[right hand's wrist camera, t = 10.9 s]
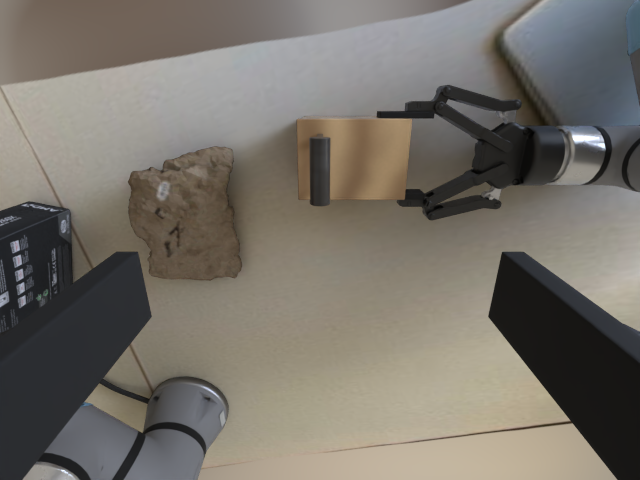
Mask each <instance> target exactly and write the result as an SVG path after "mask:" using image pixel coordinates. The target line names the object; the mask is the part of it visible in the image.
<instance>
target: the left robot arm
mask: <svg viewBox="0 0 640 480" xmlns="http://www.w3.org/2000/svg"><path fill="white" fill-rule="evenodd" d="M626 28H627V40H628V55H629V56H630V59H631V64H632V69H633V74H634V79H635V84H636V89H637V94H638V100H639V105H640V0H636V1H635V2H634V3H633V4H632V5H631V7H630V8H629V10H628V12H627V14H626ZM448 99H450V100H454V101H457V102H460V103H464V104H467V105H471V106H474V107H478V108H481V109H485V110H489V111H496V116H497V117H500V118H502V119H503V121H504V123H502V124H501V125H499V126H498V127H496V128H495V129H493V130H492V131H490V130H488V129H486V128H484V127H482V126H481V125H479V124H478V123H476V122H474V121H473V120H471V119H469V118H468V117H466V116H465V115H463V114H461V113H460V112H458V111H457V110H455V109H453V108H452V107H450V106H449V105H447V104H446V102H447V100H448ZM521 105H522V102H521V101H520V100H518V99H516V100H498V99H495V98H491V97H488V96H485V95H481V94H478V93H474V92H471V91H468V90H464V89H461V88H457V87H454V86H451V85H445V86H440V87H438V88H437V91H436V95H435V97H434V99H433V100H432V101H411V102H407V103H405V111H377V117H378V118H434V113H435V114H437V115H438V116H440V117H442V118H443V119H445V120H447V121H448V122H450V123H451V124H453V125H455V126H456V127H458V128H460V129H461V130H463V131H465V132H466V133H468V134H469V135H470V136H472V137H473V138H475V139H477V140H478V143H476V144H475V157H474V159H473V163H472V167H473V168H472V169H470V170H468V171H466V172H465V173H464V174H463V175H461V176H459V177H457V178H455V179H453V180H451V181H449V182H447V183H445V184H443V185H441V186H439V187H437V188H435V189H433V190H431V191H429V192H427V193H425V194H424V193H423V192H422V191H421V190H420V189H406V191H405V199H404V200H397V203H398V204H399V205H400V206H402V207H422V209H423V214H424V215H425V216H426V217H427V218H428V219H429V220H435V219H439V218H444V217H448V216H452V215H456V214H460V213H464V212H469V211H473V210H477V209H481V208H490V209H498V208H500V207H501V202H500V201H499V197H500V193H501V190H502V189H503V188H506V187H508V186H511V185H545V184H546V185H611V186H618V187H622V188H625V189H629V190H632V191H636V192H640V125H639V126H555V127H554V126H521V125H519V124H517V123H516V122H515V119H516V110H518V109H519V108H520V107H521ZM484 182H487V183H488V184H489V185H491V186H492V187H491V189H490V190H488V191H484V192H482V193H481V195H474V196H469V197H465V198H461V199H457V200H453V201H449V202H445V203H441V204H438V203H440V202H442V201H444V200H446V199H448V198H450V197H452V196H454V195H456V194H458V193H460V192H462V191H464V190H466V189H468V188H471V187H473V186H476V185H480V184H482V183H484ZM436 204H437V205H436Z"/></svg>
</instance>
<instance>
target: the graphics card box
mask: <svg viewBox="0 0 640 480" xmlns="http://www.w3.org/2000/svg"><path fill="white" fill-rule="evenodd" d="M72 278H73V277H72V248H71V221H70V211H69V209H65V208H60V207H55V206H50V205H45V204H40V203H35V202H26V203H23V204H20V205H17V206H13V207H11V208H8V209H5V210H2V211H0V333H2V332H4V331H6V330H8V329H10V328H12V327H14V326H15V325H16V324H18V323H19V322H21V321H22V320H23V319H25V318H26V317H27V316H29V315H30V314H32V313H33V312H34V311H36V310H37V309H38V308H40V307H41V306H43V305H44V304H45V303H47V302H48V301H49V300H51V299H52V298H54V297H55V296H56V295H58V294H59V293H60V292H62V291H63V290H65V289H66V288H67V287H69V286H70V285H72V284H73V279H72Z"/></svg>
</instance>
